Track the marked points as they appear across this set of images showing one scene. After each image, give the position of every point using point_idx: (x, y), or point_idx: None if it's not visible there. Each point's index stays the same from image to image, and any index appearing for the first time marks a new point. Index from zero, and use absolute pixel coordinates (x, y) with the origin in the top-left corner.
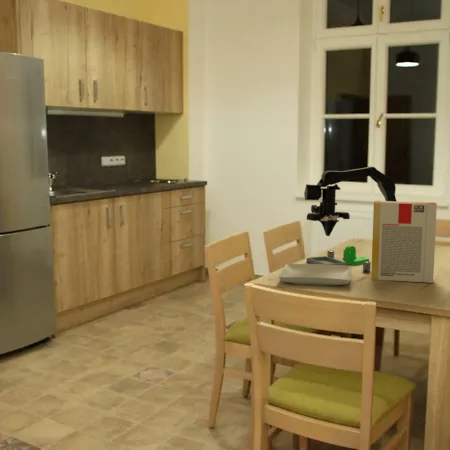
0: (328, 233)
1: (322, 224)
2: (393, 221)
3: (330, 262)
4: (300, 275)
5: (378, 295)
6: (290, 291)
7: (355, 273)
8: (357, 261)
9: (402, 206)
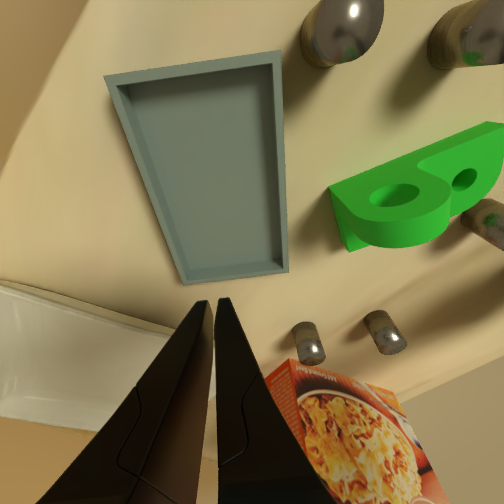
0: (210, 350)
1: (68, 484)
2: None
3: (259, 165)
4: (61, 348)
5: (204, 443)
6: (39, 423)
7: (256, 339)
8: (365, 245)
9: None
